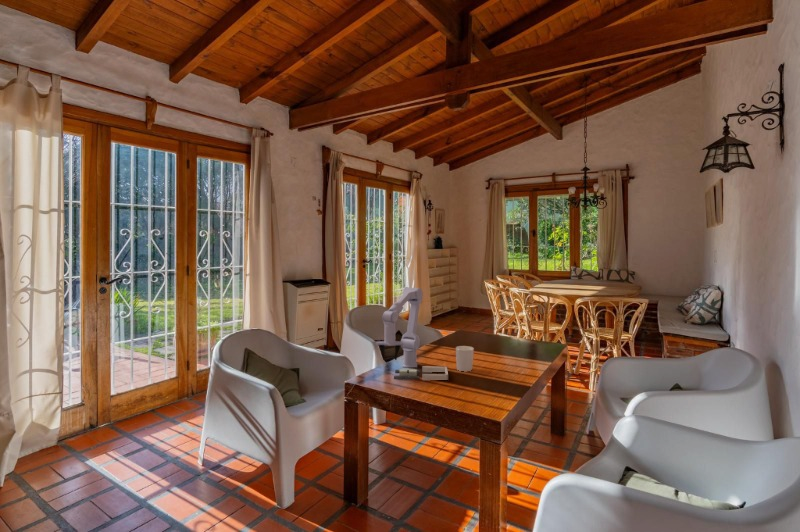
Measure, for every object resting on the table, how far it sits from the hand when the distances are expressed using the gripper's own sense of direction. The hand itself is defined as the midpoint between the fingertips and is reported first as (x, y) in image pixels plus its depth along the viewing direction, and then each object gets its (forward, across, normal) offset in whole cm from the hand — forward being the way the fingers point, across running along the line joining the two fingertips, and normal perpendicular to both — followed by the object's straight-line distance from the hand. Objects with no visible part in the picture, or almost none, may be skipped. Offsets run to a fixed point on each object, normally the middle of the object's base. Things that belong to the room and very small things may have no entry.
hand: (389, 359), depth 224 cm
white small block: (+9, +7, 0) cm, 11 cm away
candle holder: (+9, +40, +12) cm, 43 cm away
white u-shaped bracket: (+8, +24, 0) cm, 25 cm away
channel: (+8, +9, 0) cm, 12 cm away
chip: (+9, +12, 0) cm, 15 cm away
